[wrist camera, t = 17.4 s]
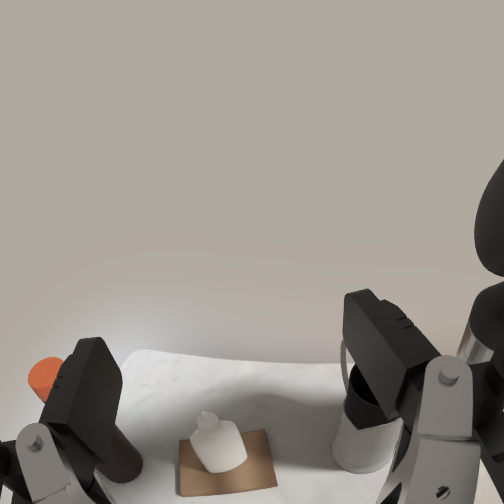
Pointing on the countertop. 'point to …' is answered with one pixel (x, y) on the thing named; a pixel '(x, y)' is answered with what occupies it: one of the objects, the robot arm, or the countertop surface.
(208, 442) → the eye dropper bottle
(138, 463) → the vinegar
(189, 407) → the countertop surface
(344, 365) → the glass holder
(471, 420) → the robot arm
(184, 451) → the walnut board
